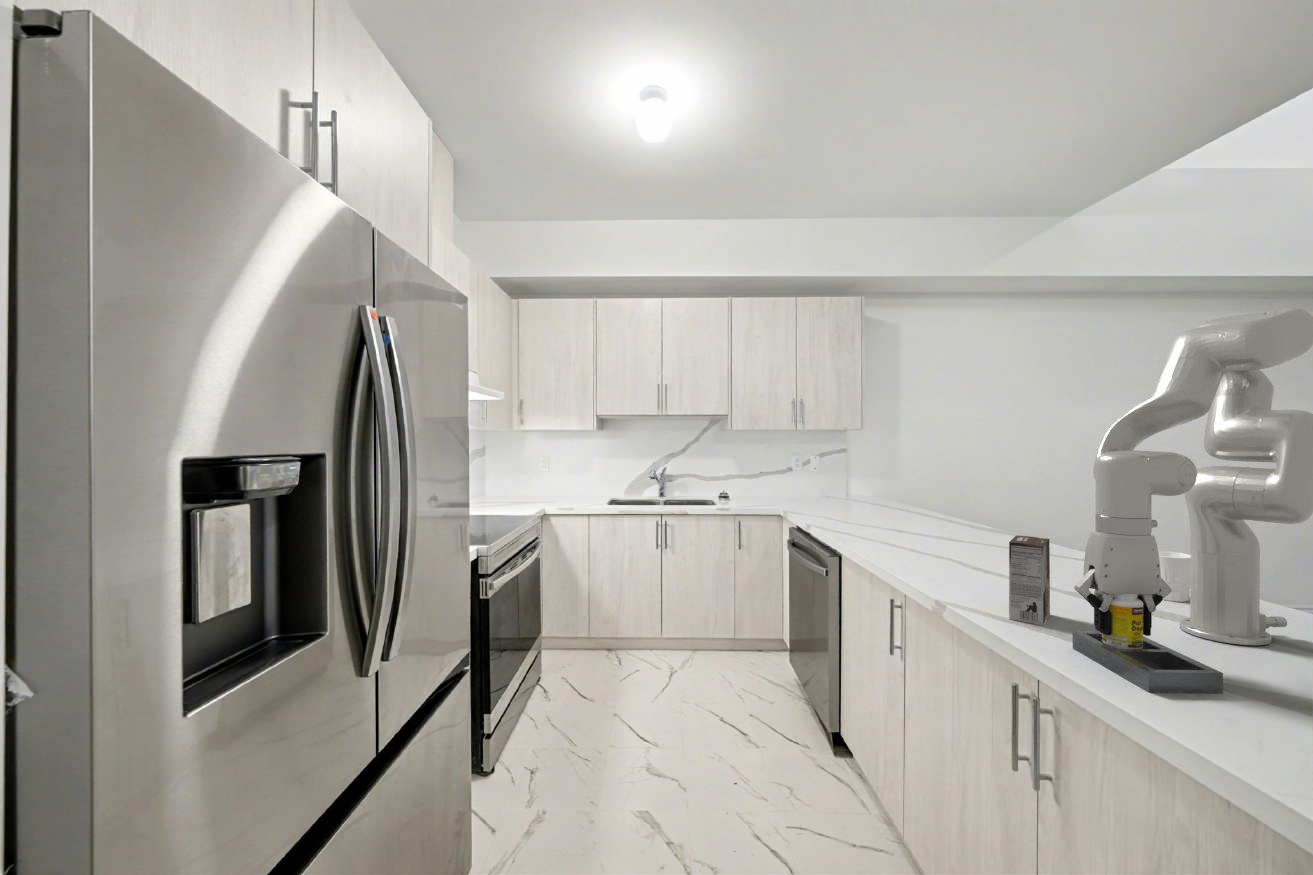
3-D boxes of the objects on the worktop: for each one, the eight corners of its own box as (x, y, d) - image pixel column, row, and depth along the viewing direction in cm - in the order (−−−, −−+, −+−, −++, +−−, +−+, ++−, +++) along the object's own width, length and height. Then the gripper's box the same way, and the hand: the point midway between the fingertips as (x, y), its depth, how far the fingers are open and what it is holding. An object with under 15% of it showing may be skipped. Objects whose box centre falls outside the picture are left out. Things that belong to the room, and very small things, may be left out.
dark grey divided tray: (1072, 648, 108) (1072, 631, 108) (1134, 648, 108) (1134, 632, 108) (1148, 692, 90) (1148, 672, 90) (1222, 693, 90) (1222, 673, 90)
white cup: (1138, 595, 141) (1139, 552, 141) (1162, 592, 144) (1163, 549, 144) (1176, 604, 134) (1176, 559, 134) (1201, 600, 136) (1201, 556, 136)
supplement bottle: (1135, 655, 99) (1135, 592, 99) (1096, 645, 104) (1096, 585, 104) (1148, 648, 102) (1149, 587, 102) (1110, 638, 107) (1110, 580, 107)
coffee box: (1015, 609, 132) (1015, 534, 131) (1050, 614, 128) (1050, 537, 127) (1007, 619, 125) (1007, 541, 124) (1044, 625, 121) (1044, 544, 120)
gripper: (1158, 523, 106) (1158, 626, 106) (1056, 523, 107) (1056, 625, 107) (1194, 530, 99) (1193, 641, 99) (1084, 530, 100) (1084, 640, 100)
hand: (1122, 631), depth 103 cm, fingers closed on supplement bottle, 5 cm apart
